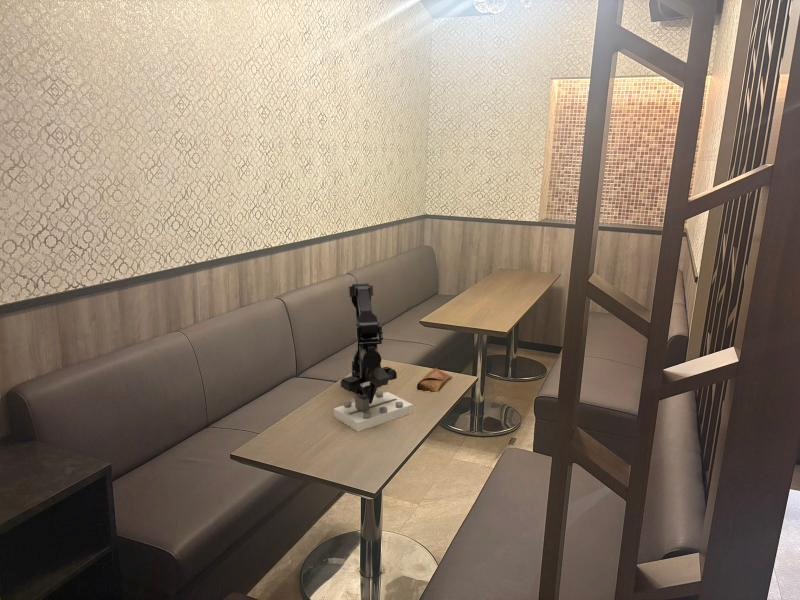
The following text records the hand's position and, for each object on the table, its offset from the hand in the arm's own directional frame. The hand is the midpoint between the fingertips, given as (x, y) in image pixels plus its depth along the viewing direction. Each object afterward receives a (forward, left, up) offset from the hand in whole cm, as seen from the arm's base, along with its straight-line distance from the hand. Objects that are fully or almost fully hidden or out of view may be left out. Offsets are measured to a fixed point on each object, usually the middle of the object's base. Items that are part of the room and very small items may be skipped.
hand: (369, 403), depth 192 cm
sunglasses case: (-8, +36, -5) cm, 37 cm away
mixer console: (0, +1, -4) cm, 5 cm away
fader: (0, -3, -1) cm, 3 cm away
